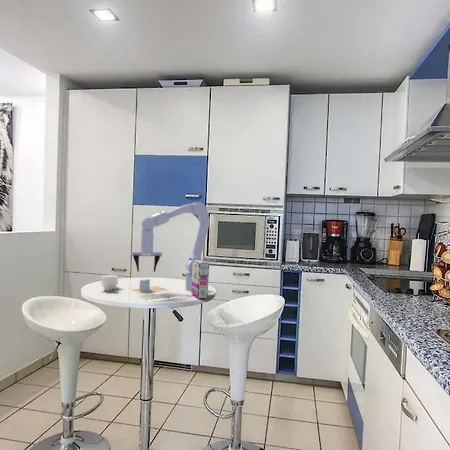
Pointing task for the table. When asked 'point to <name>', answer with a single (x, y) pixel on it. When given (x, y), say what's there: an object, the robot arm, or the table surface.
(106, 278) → the cup
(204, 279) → the candy bar box
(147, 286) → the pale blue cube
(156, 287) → the post board
